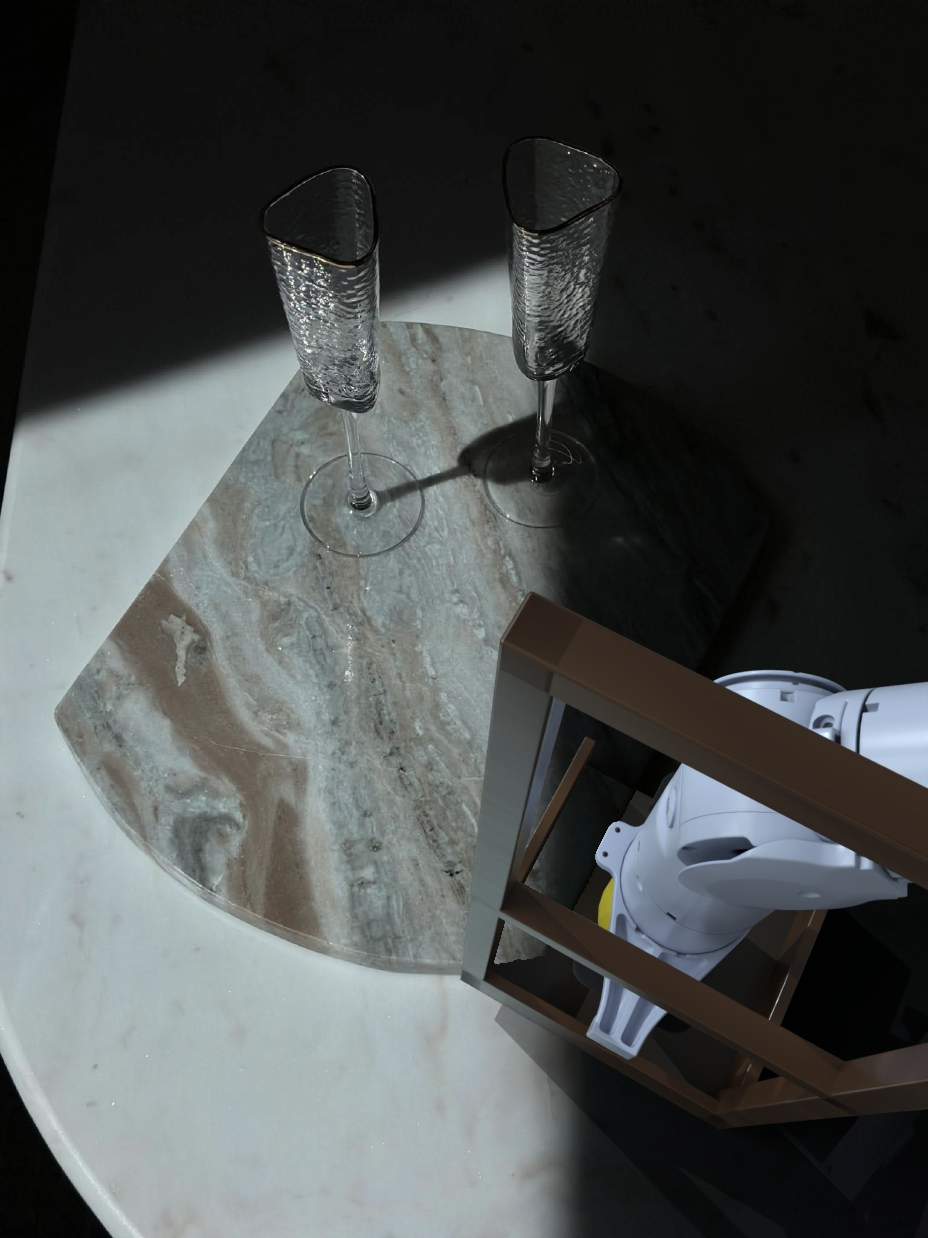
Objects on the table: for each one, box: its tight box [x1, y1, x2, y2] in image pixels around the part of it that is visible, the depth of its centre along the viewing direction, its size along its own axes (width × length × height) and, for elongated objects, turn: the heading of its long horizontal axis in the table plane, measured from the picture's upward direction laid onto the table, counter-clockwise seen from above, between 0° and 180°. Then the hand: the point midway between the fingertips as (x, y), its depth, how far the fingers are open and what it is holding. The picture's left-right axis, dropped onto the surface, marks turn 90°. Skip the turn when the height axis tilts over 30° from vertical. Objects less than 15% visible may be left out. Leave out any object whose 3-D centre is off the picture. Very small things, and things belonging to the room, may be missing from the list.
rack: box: [459, 590, 928, 1130], centre depth 40 cm, size 13×14×42 cm
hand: (652, 923), depth 57 cm, fingers closed on lemon, 5 cm apart
